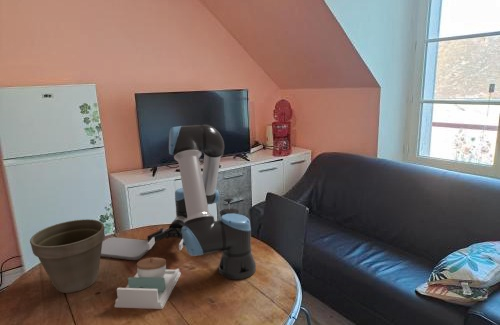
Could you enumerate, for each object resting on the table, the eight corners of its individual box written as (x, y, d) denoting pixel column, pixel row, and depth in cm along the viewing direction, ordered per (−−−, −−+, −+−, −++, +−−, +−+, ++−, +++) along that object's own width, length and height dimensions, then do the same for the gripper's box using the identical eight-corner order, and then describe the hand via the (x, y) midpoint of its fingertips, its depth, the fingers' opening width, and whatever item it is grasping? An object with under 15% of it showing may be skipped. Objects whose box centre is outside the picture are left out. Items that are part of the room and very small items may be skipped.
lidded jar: (158, 288, 122) (158, 263, 122) (131, 286, 125) (131, 261, 124) (171, 277, 133) (170, 254, 133) (146, 276, 135) (145, 252, 135)
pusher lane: (140, 273, 138) (138, 257, 137) (180, 274, 137) (179, 258, 135) (114, 307, 117) (112, 289, 116) (162, 309, 116) (160, 290, 114)
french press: (243, 241, 165) (241, 196, 160) (239, 250, 156) (238, 203, 151) (219, 240, 167) (217, 195, 162) (214, 249, 158) (212, 202, 153)
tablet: (110, 240, 170) (110, 236, 170) (157, 245, 163) (156, 241, 163) (87, 256, 155) (87, 251, 154) (138, 262, 148) (137, 257, 148)
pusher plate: (130, 289, 125) (128, 277, 124) (165, 290, 124) (164, 278, 123) (129, 290, 124) (127, 278, 123) (164, 291, 123) (163, 279, 122)
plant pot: (23, 302, 121) (13, 246, 116) (61, 266, 145) (54, 219, 140) (93, 301, 121) (85, 245, 116) (119, 265, 145) (114, 218, 140)
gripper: (204, 234, 163) (193, 255, 142) (154, 233, 165) (136, 254, 144) (203, 219, 161) (192, 239, 140) (152, 219, 163) (134, 238, 143)
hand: (164, 247), depth 142 cm, fingers open, 13 cm apart
